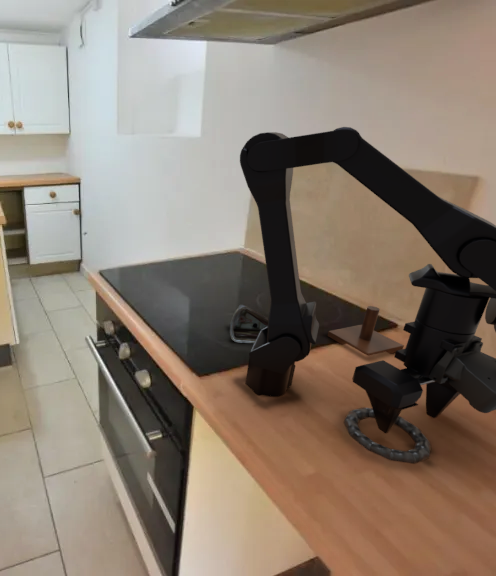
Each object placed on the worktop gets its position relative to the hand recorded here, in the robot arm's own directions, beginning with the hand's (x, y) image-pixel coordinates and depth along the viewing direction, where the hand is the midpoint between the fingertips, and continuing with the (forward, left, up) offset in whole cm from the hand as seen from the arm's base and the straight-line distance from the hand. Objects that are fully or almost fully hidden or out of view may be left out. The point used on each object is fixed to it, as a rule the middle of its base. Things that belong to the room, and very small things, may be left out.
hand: (407, 423), depth 52 cm
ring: (-4, 0, -1) cm, 4 cm away
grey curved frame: (-2, +30, -2) cm, 30 cm away
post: (+16, +20, -1) cm, 26 cm away
